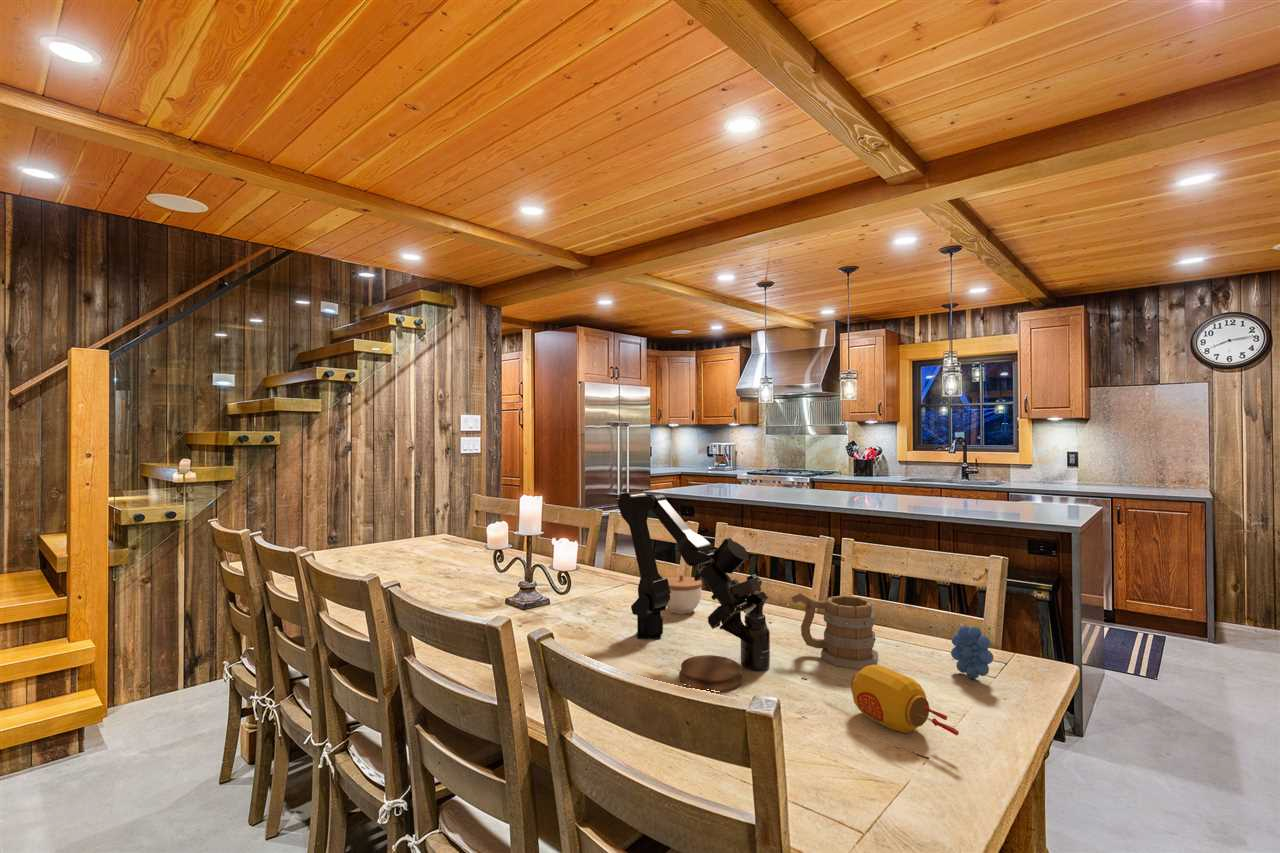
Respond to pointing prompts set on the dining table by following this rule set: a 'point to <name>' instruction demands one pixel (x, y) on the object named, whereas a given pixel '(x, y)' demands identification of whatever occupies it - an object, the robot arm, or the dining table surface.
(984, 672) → the grapes
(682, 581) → the lidded bowl
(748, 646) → the supplement bottle
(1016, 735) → the dining table surface
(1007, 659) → the dining table surface
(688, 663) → the pedestal stand
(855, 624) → the tankard
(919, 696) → the lantern
